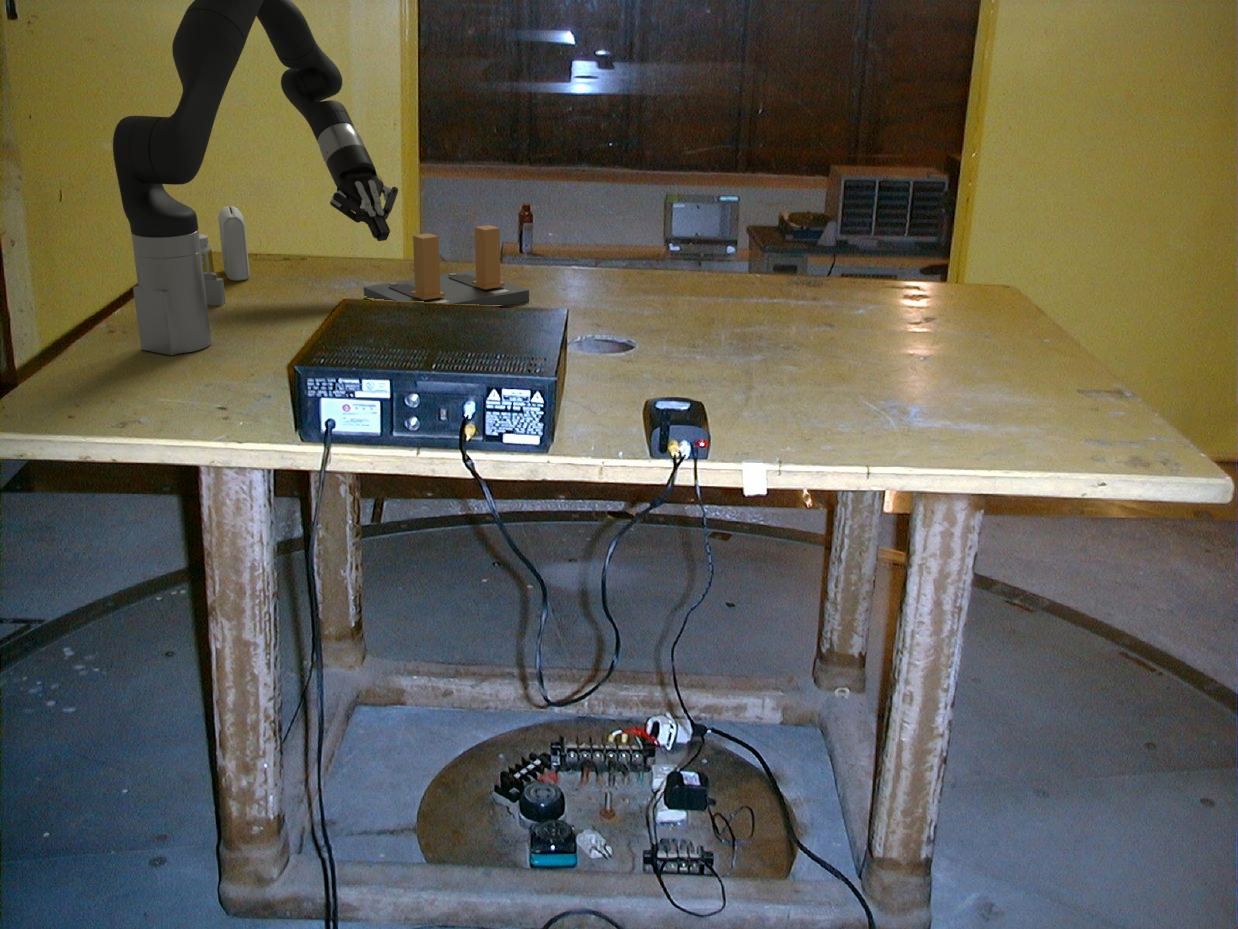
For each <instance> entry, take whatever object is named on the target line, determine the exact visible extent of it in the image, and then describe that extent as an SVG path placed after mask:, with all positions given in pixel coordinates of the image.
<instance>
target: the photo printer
mask: <svg viewBox="0 0 1238 929" xmlns="http://www.w3.org/2000/svg"><path fill="white" fill-rule="evenodd" d="M245 222H246V221H245V218H244V216H243V213H242V212H241V211H240V210H239V208H237V207H235V206H233V205H231V206H228V205H227V206H224V207H223V208H222V209H221V210H220V211H219V213H218V227H219V228H218V229H219V236H220V238H219V239H220V246H221V248H220V249H221V255H222V256H221V257H222V263H223V264H222V265H223V270H224V273H225V276H226V277H227V279H228V280H231V281H245V280H247V279H249V278H250V272H251V271H250V263H249V257H248V256H249V254H248V245H247V234H246V233H247V232H246V223H245Z"/></svg>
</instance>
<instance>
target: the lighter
mask: <svg viewBox="0 0 1238 929" xmlns="http://www.w3.org/2000/svg"><path fill="white" fill-rule="evenodd" d="M203 274H204V283H205V292H206V301H207V306H216V307H217V306H220V307H221V306H224V305H226V292H225V284H224V278H223V277H218V275H217V274H216V273H215V272H214V273H210V272H204V273H203Z"/></svg>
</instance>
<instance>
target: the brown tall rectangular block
mask: <svg viewBox="0 0 1238 929" xmlns="http://www.w3.org/2000/svg"><path fill="white" fill-rule="evenodd" d="M500 233H501V232H500V227H498V226H495V225H491V224H487V225H481V226H474V249H475V250H474V251H475V252H474V254H475V271H476V281H472V285H474V286H477V287H480V288H482V289H491V288H497V287H503V286H505V283H504V282H501V281H500V280H501V241H500V240H501V238H500V237H501V235H500Z"/></svg>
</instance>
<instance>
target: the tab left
mask: <svg viewBox="0 0 1238 929" xmlns="http://www.w3.org/2000/svg"><path fill="white" fill-rule="evenodd" d="M412 245H413V247H412V249H413V267H414V268H413V269H414V279H415V291H411V295H413V296H415V297H417V298H420V299H422V300H428V299H433V298H439V297H445V293H443V292H441V291H440V275H441V272H440V270H441V269H440V268H441V267H440V246H439V236H438V235H435V234H433V233H427V232H426V233H420V234H413V235H412Z"/></svg>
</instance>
